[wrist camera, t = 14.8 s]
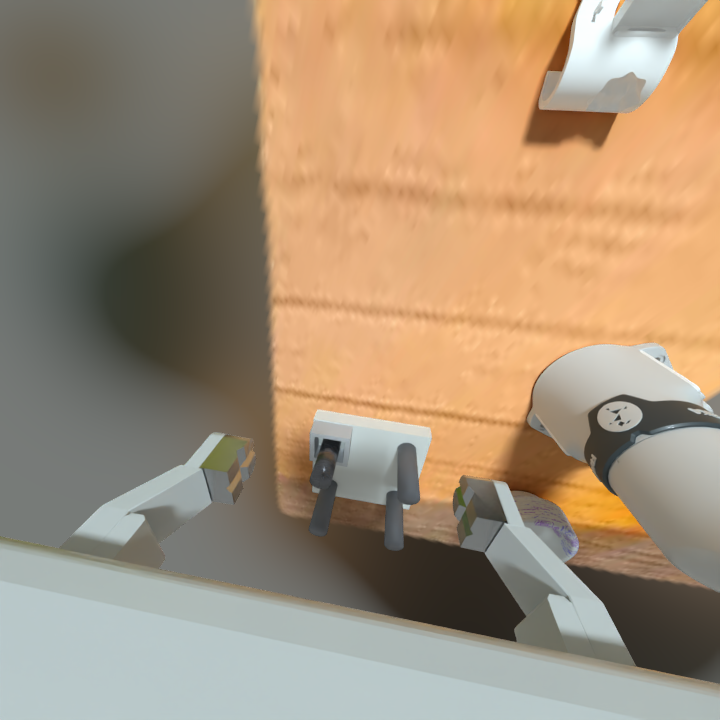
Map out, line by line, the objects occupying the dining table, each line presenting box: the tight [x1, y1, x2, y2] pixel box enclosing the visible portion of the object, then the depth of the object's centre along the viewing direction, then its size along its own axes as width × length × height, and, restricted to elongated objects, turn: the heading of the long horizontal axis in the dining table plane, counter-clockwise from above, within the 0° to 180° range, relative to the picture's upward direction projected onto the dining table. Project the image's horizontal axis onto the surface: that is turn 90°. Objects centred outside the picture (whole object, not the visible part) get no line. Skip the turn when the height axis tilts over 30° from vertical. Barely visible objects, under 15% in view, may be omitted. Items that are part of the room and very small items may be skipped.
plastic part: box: [539, 0, 708, 113], centre depth 18 cm, size 8×10×12 cm
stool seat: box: [309, 410, 432, 551], centre depth 47 cm, size 20×20×12 cm
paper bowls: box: [510, 491, 579, 563], centre depth 50 cm, size 15×15×8 cm
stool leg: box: [310, 438, 342, 489], centre depth 43 cm, size 3×3×9 cm
